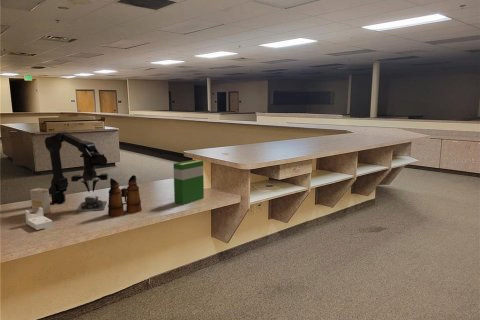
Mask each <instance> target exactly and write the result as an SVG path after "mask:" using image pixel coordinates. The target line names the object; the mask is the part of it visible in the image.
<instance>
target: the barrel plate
mask: <svg viewBox="0 0 480 320" xmlns="http://www.w3.org/2000/svg"><path fill="white" fill-rule="evenodd" d="M98 202H99V203H98V204H95V205H87V204H85V201H83V202H80V205H79V206H78V207H77V209H76V213H80V212H81V213H83V212H93V211H94V212H95V211H104V210H105V208H106V206H107V205H108V201H107V200H105V201H103V200H101V199H98Z"/></svg>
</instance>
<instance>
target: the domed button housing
mask: <svg viewBox="0 0 480 320" xmlns="http://www.w3.org/2000/svg"><path fill="white" fill-rule="evenodd" d="M98 200H99V196H96V195H89V196H86V197H84V202H85V204H87V205H95V204H98V203H99V202H98Z"/></svg>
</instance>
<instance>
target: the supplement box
mask: <svg viewBox="0 0 480 320" xmlns="http://www.w3.org/2000/svg"><path fill="white" fill-rule="evenodd" d="M48 189H49V188H39V187H36V188H33V189H30V190H29V192H30V200H31V201H30V202H31V209H32V210H31V211H32V214H35V213H36V212H37V211H38V210H39V208H40V207H41V208H43V215H47V214H50V213H51V212H52V211H51V203H50V202H51V201H50V194H49V190H48Z"/></svg>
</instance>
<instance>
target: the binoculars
mask: <svg viewBox="0 0 480 320" xmlns="http://www.w3.org/2000/svg"><path fill="white" fill-rule="evenodd" d="M109 185H110V189H108V202H107V207H108V209H107V210H108V211H107V216H108V217H110V218H119V217H122V216H124V215H125V212H126V213H128V214H136V213H137V214H138V213H140V212H142V200H141V197H140V196H141V195H140V190H139V189H140V187H139V185H138V184H137V177H136V175H135V174H132V175H131V176H130V177H129V179H128V183H127V185H128V186H127V187H123V188H120V183H119V182H117V181H116V179H114V178H110V181H109ZM123 198H124V202H123ZM124 205H126V209H125V210H124Z"/></svg>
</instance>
